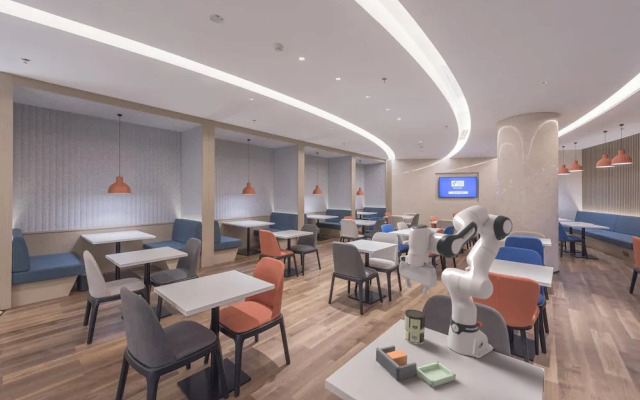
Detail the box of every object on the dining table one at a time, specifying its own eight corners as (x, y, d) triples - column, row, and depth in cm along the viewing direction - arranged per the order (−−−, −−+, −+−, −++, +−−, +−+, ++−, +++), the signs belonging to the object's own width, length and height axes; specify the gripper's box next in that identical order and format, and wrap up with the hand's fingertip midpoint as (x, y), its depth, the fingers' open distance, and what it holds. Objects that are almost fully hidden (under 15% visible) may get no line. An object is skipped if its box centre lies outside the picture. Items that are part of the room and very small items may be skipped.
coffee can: (417, 334, 153) (418, 308, 153) (428, 344, 143) (429, 317, 143) (400, 335, 151) (401, 309, 151) (409, 345, 141) (410, 318, 141)
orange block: (400, 362, 126) (400, 349, 126) (407, 368, 122) (407, 355, 122) (385, 366, 123) (386, 353, 123) (391, 372, 119) (392, 358, 119)
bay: (393, 355, 131) (394, 343, 131) (416, 375, 118) (416, 361, 117) (375, 360, 127) (376, 347, 127) (396, 380, 114) (397, 367, 113)
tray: (437, 366, 124) (437, 361, 124) (455, 380, 115) (455, 374, 115) (414, 373, 119) (415, 367, 119) (431, 387, 110) (432, 381, 110)
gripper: (441, 265, 118) (439, 298, 118) (407, 255, 136) (406, 283, 137) (430, 266, 115) (428, 299, 115) (397, 256, 134) (396, 284, 134)
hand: (416, 290), depth 126 cm, fingers open, 8 cm apart
